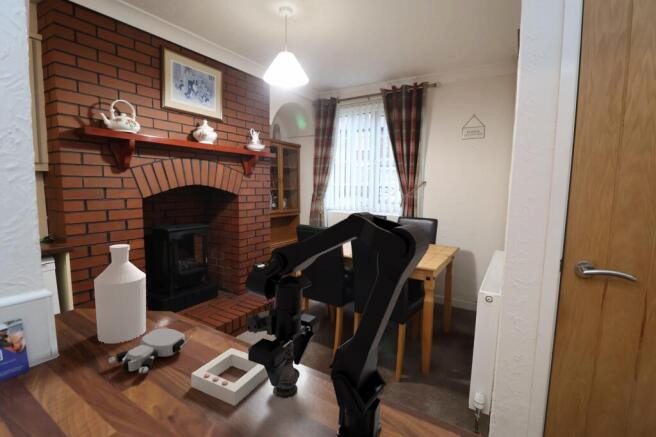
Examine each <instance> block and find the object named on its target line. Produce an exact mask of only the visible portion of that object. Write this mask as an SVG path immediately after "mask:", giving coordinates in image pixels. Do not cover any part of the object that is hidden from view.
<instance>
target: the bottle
mask: <svg viewBox="0 0 656 437" xmlns="http://www.w3.org/2000/svg"><path fill="white" fill-rule="evenodd" d="M130 248H131V245H130V244H126V243H123V244H122V243H120V244H113V245H110V246H109V252H110V254H111V262H110V264H108V266H107V267H106V268H105V269H104V270H103V271H102V272H101V273H99V275H97V276H96V277H95V278H94V280H93V286H94V300H95V313H96V314H95V315H96V329H97V330H96V332H97V340H98V341H99V342H100V341H101V342H100V343H102V342H104V343H103V344H121V343H126V342H129V341H132V340H135V339H137V338H139V337H141V336H142V335H143V334H144V333H145V332H146V331H147V311H146V310H147V308H146V307H147V306H146V304H147V299H146V297H147V294H146V292H147V289H146V288H147V286H146V284H147V281H146V280H147V278H146V277H147V276H146V273H145V272H143V271H142V270H140V269H139V268H138V267H137V266H135V265H134V264H133V263H132V262H130V261H129V257H130V256H129V253H130V252H129V251H131V249H130ZM140 335H141V336H140ZM136 337H137V338H136ZM134 338H135V339H134ZM125 341H126V342H125ZM120 342H121V343H120Z"/></svg>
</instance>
